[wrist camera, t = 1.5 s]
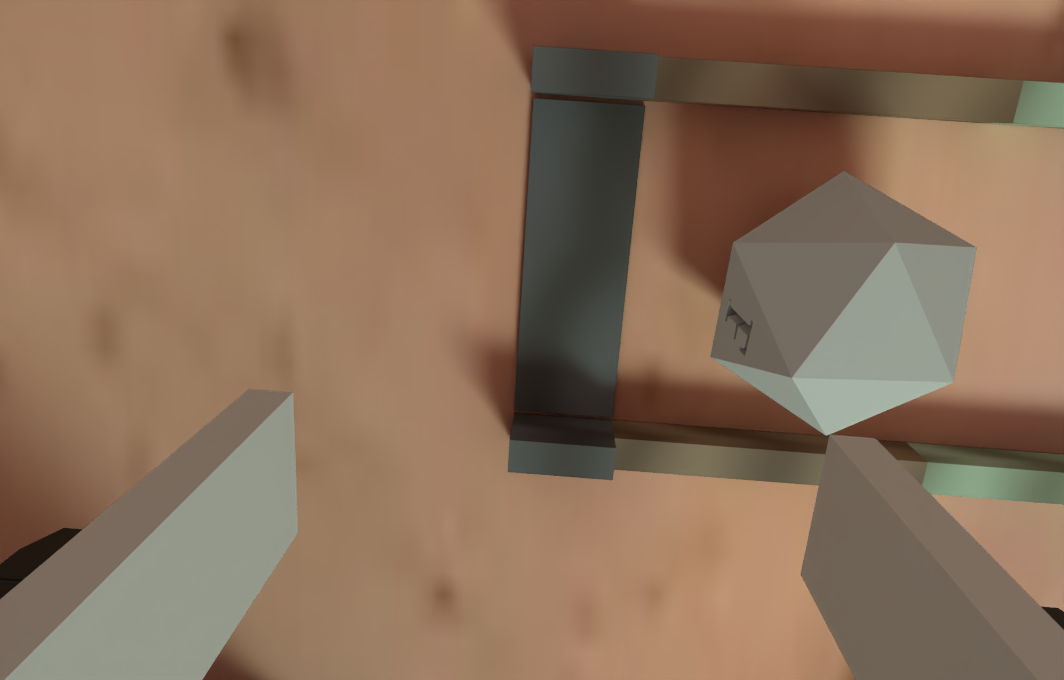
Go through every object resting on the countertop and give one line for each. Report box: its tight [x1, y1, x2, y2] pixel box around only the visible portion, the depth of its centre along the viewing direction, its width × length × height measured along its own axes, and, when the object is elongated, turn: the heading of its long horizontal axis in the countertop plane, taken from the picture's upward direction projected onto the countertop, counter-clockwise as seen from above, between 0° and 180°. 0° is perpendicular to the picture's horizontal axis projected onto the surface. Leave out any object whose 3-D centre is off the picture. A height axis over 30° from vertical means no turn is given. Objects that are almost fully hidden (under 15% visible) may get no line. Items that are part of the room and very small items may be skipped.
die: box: [711, 171, 977, 436], centre depth 27 cm, size 8×9×10 cm
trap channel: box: [508, 46, 1064, 504], centre depth 29 cm, size 38×17×3 cm, turn 87°
